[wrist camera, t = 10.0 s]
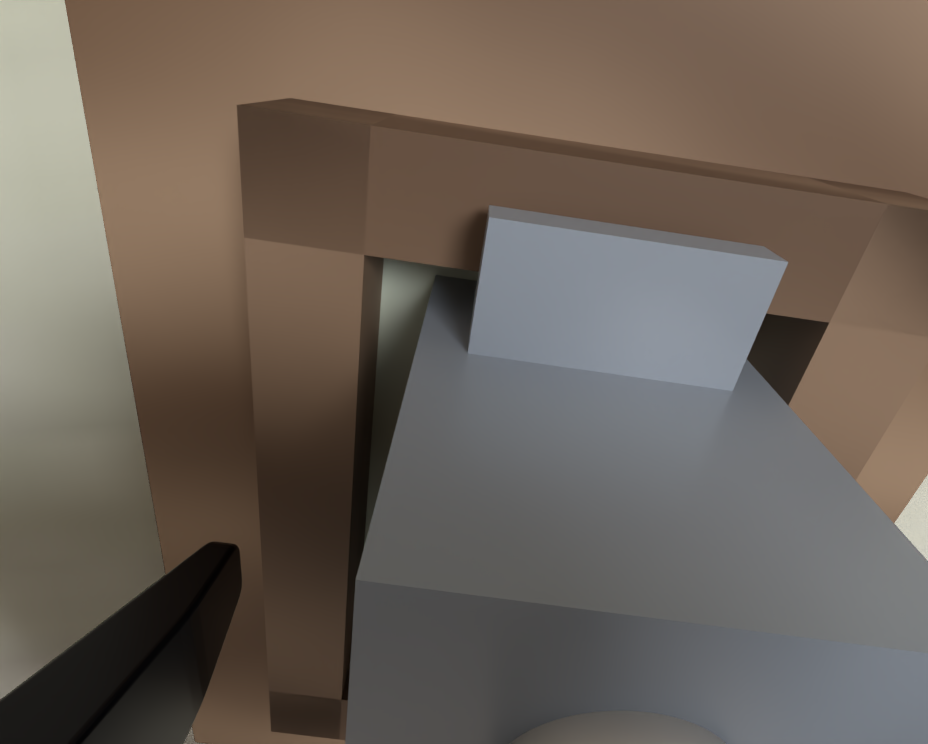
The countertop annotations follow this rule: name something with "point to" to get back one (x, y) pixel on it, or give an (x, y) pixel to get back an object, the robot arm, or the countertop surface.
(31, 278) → the countertop surface
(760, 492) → the block
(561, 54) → the brown wooden board
